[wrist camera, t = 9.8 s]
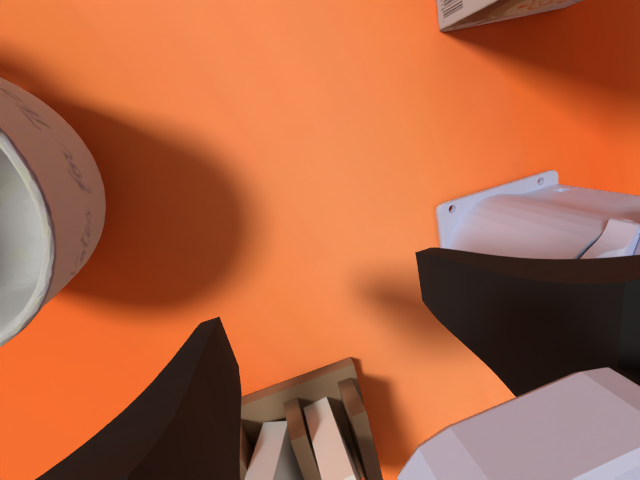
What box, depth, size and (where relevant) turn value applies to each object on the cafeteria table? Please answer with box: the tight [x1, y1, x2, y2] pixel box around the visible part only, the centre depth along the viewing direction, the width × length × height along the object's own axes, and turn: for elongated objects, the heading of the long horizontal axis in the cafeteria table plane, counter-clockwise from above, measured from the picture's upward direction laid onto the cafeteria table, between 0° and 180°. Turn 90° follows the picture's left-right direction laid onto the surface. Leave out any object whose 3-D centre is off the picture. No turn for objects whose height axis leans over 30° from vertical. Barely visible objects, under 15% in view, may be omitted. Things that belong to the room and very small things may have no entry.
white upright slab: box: [304, 397, 362, 480], centre depth 23 cm, size 2×7×6 cm, turn 20°
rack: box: [240, 357, 383, 480], centre depth 24 cm, size 10×11×4 cm
